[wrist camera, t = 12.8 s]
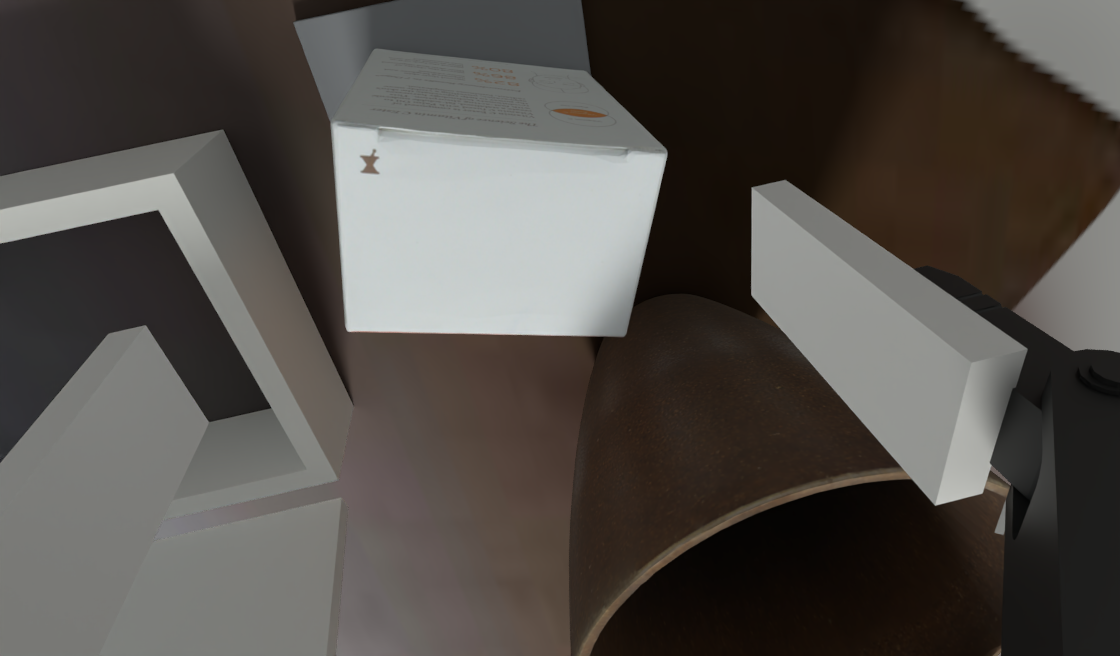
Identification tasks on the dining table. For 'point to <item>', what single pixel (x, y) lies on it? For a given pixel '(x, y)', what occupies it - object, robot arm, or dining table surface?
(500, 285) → the small box
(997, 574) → the plant pot
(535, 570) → the dining table surface
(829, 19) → the dining table surface
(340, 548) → the lid
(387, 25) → the gray mat
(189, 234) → the white open tray
